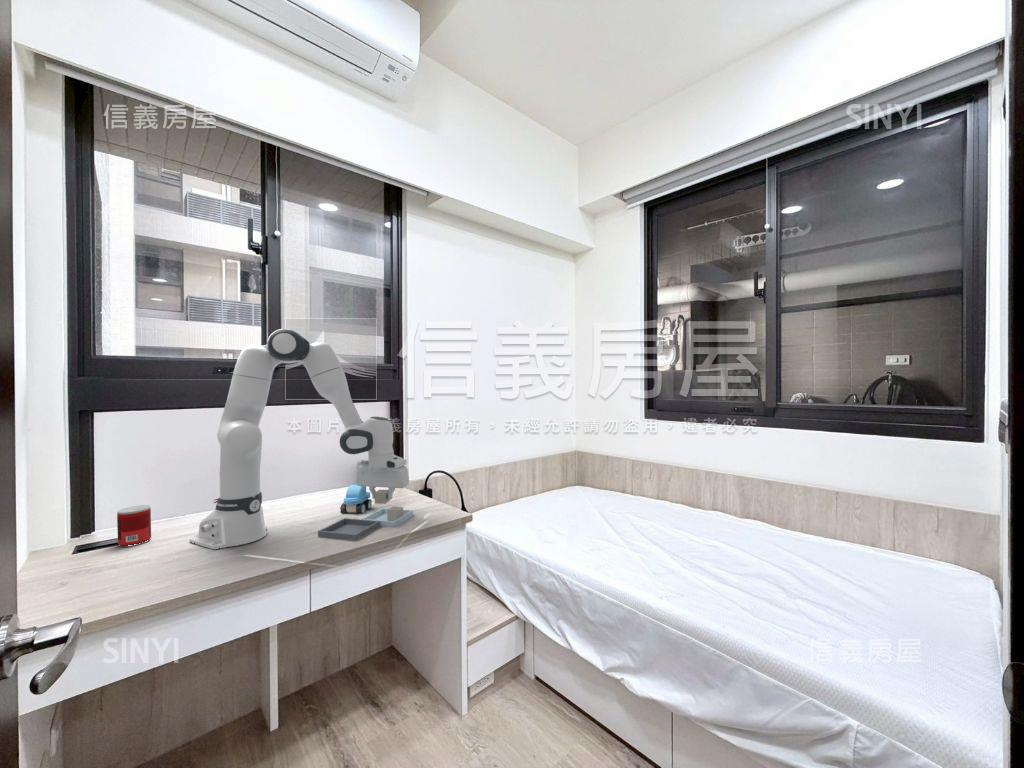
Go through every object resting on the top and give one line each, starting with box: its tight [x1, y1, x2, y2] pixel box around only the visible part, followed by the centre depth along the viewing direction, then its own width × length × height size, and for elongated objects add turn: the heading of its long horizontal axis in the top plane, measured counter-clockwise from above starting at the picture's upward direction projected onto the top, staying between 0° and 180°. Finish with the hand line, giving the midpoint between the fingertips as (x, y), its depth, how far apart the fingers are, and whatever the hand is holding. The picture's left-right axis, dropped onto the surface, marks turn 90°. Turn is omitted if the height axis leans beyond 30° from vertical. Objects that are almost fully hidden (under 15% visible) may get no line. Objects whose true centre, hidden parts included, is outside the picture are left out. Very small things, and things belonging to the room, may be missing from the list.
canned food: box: [116, 504, 152, 547], centre depth 133 cm, size 8×8×11 cm
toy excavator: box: [339, 484, 373, 515], centre depth 165 cm, size 9×17×17 cm, turn 174°
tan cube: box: [374, 489, 391, 505], centre depth 151 cm, size 4×4×4 cm
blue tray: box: [360, 507, 414, 528], centre depth 151 cm, size 13×13×2 cm
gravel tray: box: [317, 517, 381, 542], centre depth 139 cm, size 14×13×2 cm
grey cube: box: [387, 506, 404, 521], centre depth 151 cm, size 4×4×4 cm
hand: (382, 498), depth 151 cm, fingers closed on tan cube, 4 cm apart
